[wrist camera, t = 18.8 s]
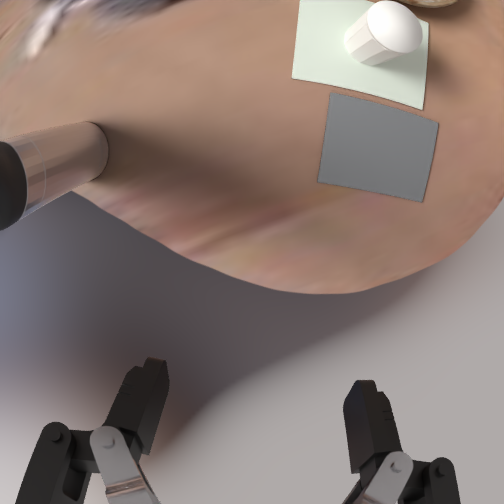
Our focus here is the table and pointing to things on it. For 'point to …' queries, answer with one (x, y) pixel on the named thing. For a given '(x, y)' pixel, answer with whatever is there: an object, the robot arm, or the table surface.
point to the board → (345, 66)
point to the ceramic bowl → (430, 3)
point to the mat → (376, 148)
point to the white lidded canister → (383, 33)
